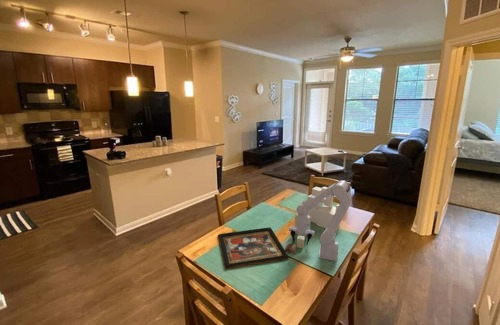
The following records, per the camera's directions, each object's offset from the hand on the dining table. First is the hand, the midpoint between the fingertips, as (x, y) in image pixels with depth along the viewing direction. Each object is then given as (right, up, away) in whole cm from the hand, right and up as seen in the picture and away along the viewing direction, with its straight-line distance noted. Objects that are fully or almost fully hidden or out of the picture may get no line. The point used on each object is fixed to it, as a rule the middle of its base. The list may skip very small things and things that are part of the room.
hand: (300, 243), depth 145 cm
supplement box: (+4, +2, +14) cm, 14 cm away
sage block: (0, -2, 0) cm, 2 cm away
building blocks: (+20, +6, +27) cm, 34 cm away
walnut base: (-7, -3, -3) cm, 8 cm away
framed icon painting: (-29, -2, -1) cm, 30 cm away
